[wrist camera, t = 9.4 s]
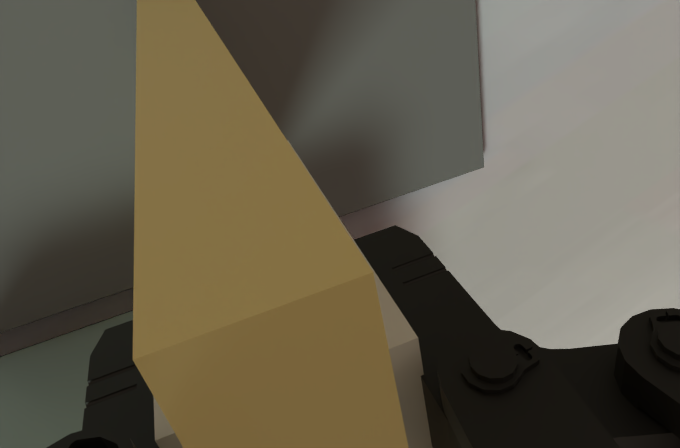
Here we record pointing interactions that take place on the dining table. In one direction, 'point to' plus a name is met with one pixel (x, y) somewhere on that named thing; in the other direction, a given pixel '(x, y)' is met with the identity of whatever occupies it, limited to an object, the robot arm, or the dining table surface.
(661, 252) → the dining table surface
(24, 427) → the dispenser
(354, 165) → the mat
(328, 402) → the pale yellow plank
